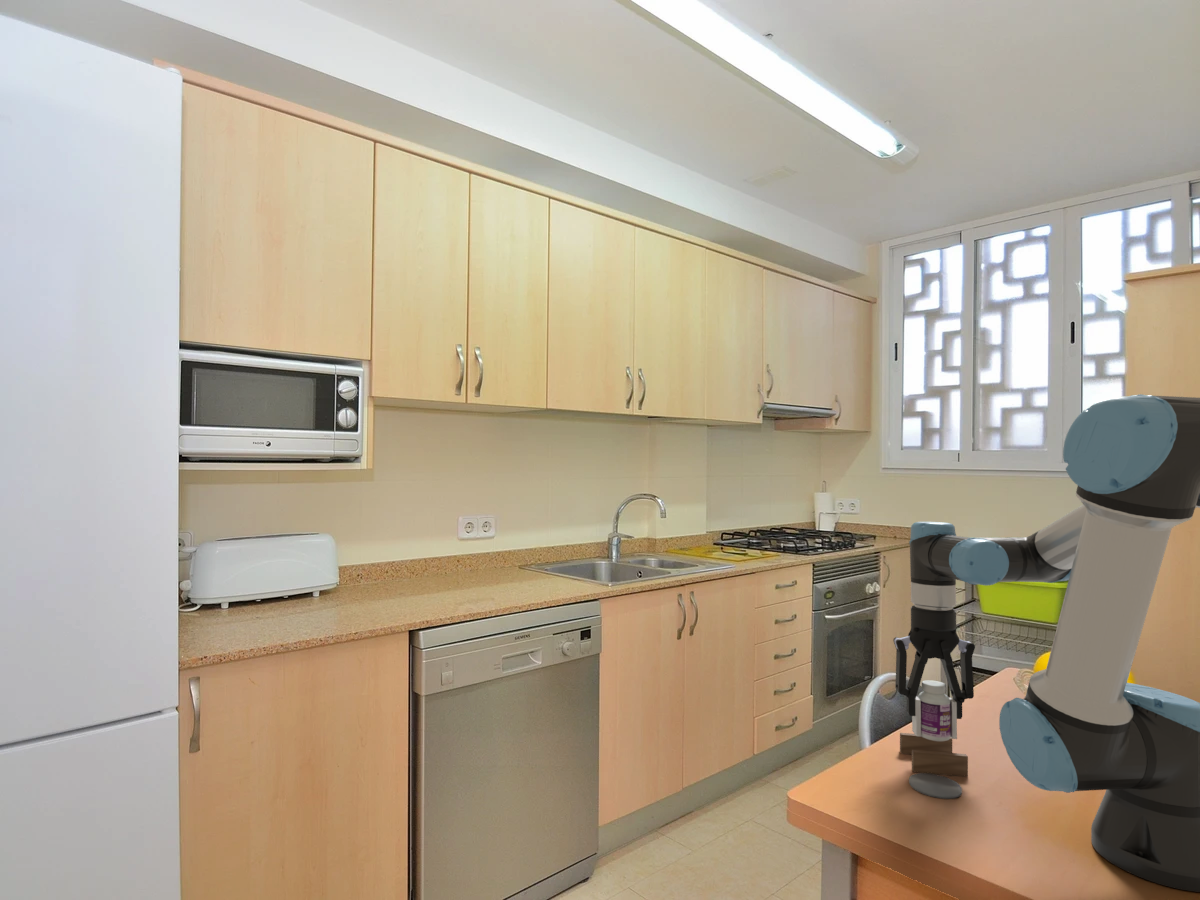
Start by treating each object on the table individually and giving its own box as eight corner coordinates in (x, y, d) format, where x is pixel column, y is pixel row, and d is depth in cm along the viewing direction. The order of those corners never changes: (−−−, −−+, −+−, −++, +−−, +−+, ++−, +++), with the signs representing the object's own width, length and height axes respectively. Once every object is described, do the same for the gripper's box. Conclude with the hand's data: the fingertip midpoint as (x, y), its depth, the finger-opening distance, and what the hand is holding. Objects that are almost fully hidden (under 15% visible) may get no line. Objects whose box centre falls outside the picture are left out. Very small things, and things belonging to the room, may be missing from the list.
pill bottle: (947, 744, 121) (946, 689, 122) (915, 737, 124) (914, 683, 125) (953, 735, 125) (952, 682, 126) (922, 729, 129) (921, 677, 129)
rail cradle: (967, 776, 120) (967, 756, 120) (913, 771, 122) (913, 752, 122) (950, 755, 129) (950, 736, 129) (899, 751, 130) (899, 732, 131)
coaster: (969, 800, 111) (969, 797, 111) (916, 796, 113) (916, 792, 113) (952, 778, 119) (952, 775, 119) (903, 774, 120) (903, 771, 120)
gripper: (979, 604, 128) (980, 731, 127) (875, 600, 131) (876, 724, 130) (995, 612, 121) (997, 746, 120) (885, 607, 124) (886, 738, 123)
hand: (934, 734), depth 125 cm, fingers closed on pill bottle, 5 cm apart
